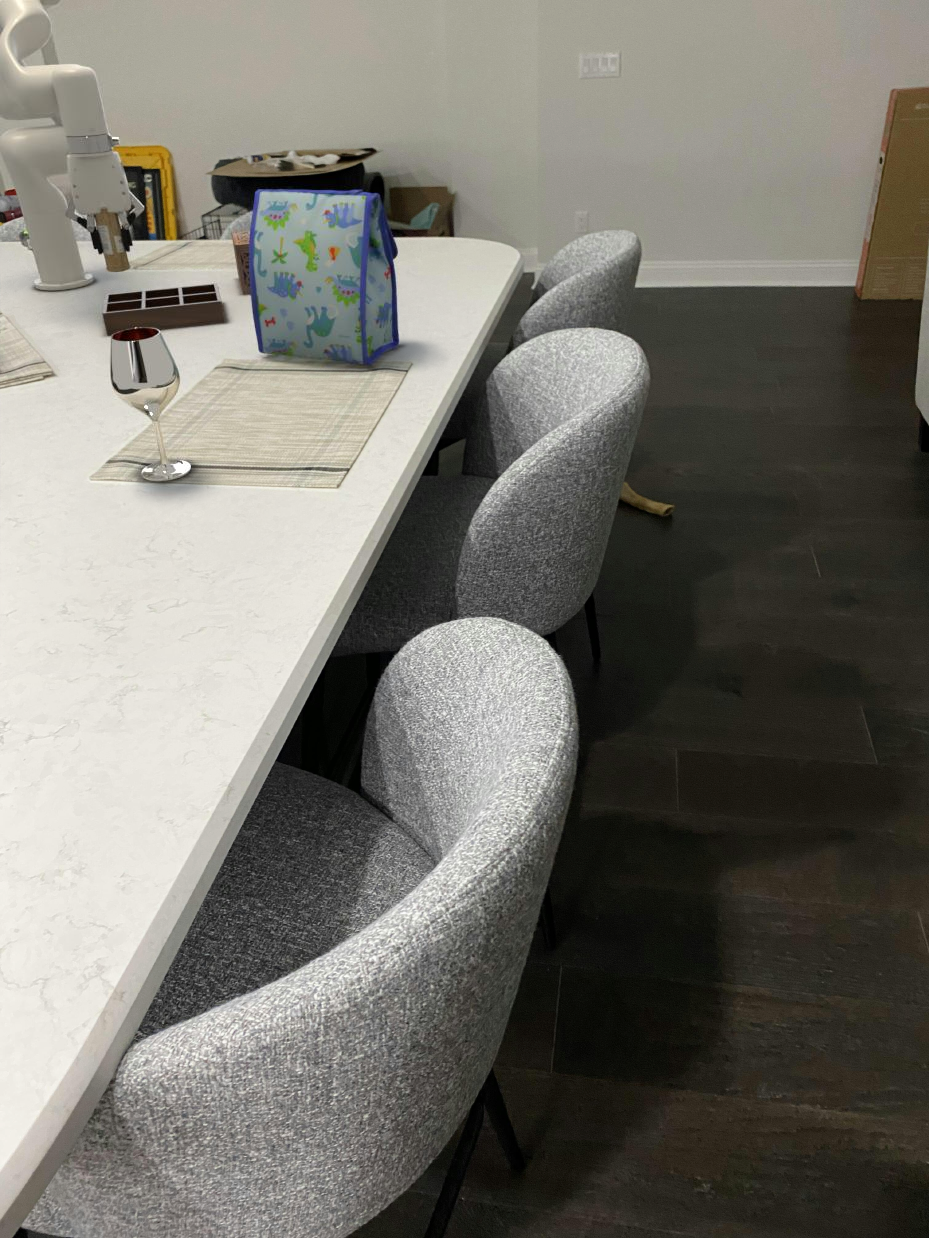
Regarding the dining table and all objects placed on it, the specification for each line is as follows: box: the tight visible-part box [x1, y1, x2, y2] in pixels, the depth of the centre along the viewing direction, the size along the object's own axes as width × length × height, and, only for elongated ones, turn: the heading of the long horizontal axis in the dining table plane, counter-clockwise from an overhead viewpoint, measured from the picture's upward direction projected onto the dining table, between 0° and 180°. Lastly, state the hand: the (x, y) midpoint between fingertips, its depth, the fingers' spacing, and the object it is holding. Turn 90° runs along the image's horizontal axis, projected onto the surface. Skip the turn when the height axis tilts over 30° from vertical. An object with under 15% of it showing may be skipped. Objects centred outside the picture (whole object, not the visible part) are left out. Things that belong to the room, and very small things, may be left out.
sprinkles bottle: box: [94, 201, 131, 273], centre depth 176 cm, size 5×5×13 cm
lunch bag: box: [249, 188, 400, 366], centre depth 155 cm, size 22×17×26 cm
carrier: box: [101, 282, 226, 336], centre depth 182 cm, size 15×22×4 cm
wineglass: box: [109, 328, 192, 482], centre depth 117 cm, size 8×8×18 cm
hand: (114, 250), depth 178 cm, fingers closed on sprinkles bottle, 4 cm apart
